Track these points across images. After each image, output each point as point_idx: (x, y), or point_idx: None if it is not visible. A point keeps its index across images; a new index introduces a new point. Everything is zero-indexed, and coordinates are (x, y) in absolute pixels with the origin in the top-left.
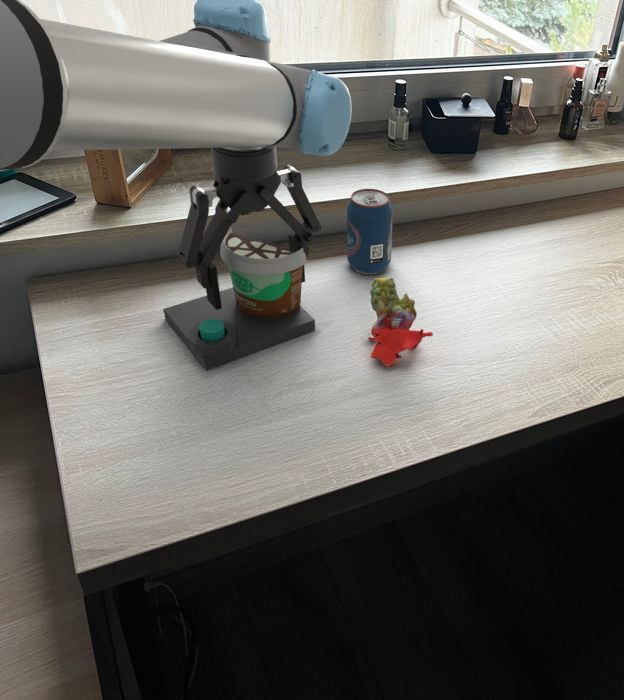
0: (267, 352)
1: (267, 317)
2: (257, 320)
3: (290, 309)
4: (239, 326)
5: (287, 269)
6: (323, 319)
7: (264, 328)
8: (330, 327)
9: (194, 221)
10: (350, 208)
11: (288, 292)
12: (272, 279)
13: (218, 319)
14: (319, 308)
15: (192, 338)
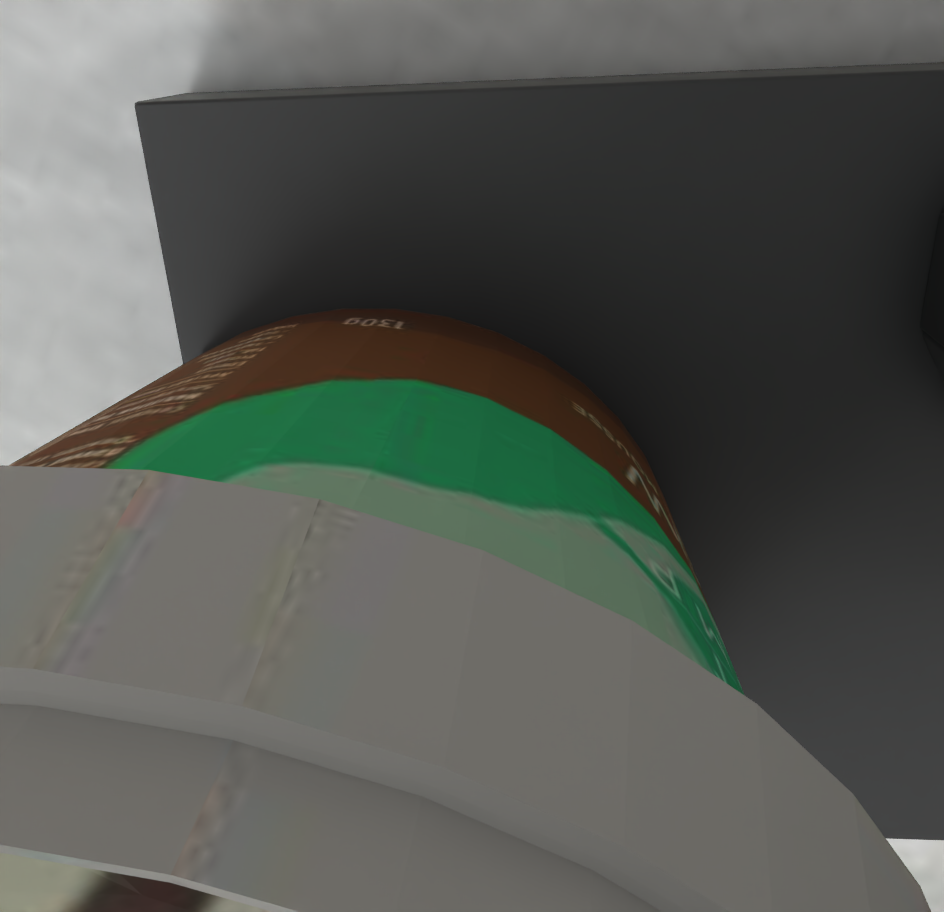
0: (710, 12)
1: (537, 357)
2: (630, 374)
3: (303, 321)
4: (816, 374)
5: (57, 500)
6: (66, 211)
7: (639, 226)
8: (43, 66)
9: None
10: None
11: (252, 380)
12: (422, 530)
13: (899, 551)
14: (52, 365)
15: None
